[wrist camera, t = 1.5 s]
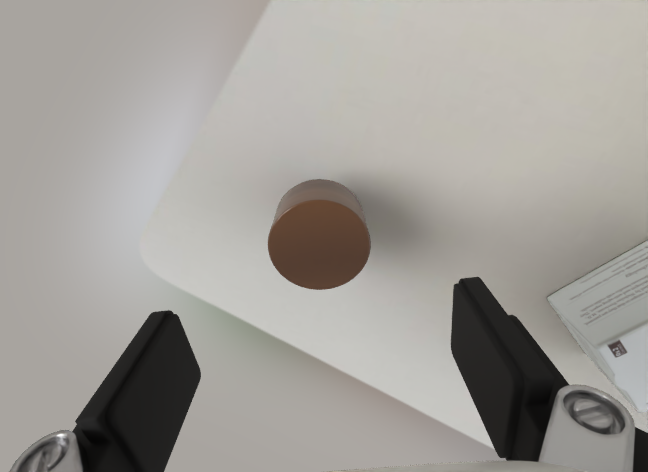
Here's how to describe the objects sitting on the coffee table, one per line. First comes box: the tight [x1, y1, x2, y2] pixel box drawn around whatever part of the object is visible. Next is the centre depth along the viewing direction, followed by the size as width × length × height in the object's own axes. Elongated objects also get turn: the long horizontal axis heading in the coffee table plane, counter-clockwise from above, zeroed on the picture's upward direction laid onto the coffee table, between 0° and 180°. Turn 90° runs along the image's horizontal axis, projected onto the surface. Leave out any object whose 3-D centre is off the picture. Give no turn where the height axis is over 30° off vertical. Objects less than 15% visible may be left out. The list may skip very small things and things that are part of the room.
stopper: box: [268, 179, 371, 290], centre depth 18 cm, size 5×5×6 cm
